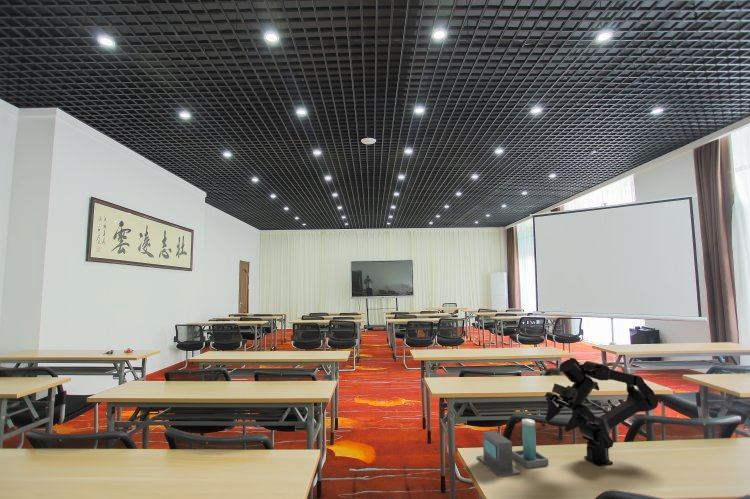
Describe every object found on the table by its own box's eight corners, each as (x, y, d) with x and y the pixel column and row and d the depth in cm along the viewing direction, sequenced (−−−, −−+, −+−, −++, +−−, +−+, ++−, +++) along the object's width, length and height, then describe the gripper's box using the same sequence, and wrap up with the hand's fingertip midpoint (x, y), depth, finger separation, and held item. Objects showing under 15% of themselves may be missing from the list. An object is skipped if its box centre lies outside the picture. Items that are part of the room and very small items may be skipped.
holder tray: (532, 454, 137) (531, 448, 137) (548, 465, 128) (548, 459, 129) (512, 457, 134) (511, 451, 135) (527, 468, 126) (527, 462, 126)
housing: (496, 455, 136) (495, 428, 137) (520, 473, 122) (519, 443, 123) (477, 457, 134) (476, 430, 135) (499, 477, 120) (498, 446, 121)
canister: (535, 456, 133) (533, 419, 134) (537, 462, 129) (536, 423, 130) (522, 455, 134) (520, 418, 135) (524, 460, 130) (523, 422, 131)
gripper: (547, 369, 141) (523, 402, 137) (586, 382, 123) (560, 419, 119) (565, 389, 142) (542, 422, 138) (607, 404, 124) (582, 442, 120)
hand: (555, 425), depth 129 cm, fingers open, 9 cm apart
